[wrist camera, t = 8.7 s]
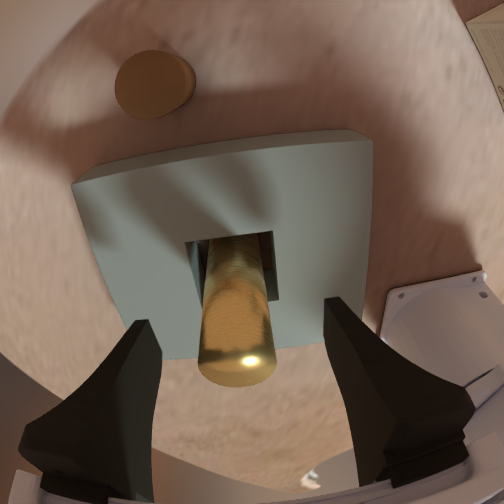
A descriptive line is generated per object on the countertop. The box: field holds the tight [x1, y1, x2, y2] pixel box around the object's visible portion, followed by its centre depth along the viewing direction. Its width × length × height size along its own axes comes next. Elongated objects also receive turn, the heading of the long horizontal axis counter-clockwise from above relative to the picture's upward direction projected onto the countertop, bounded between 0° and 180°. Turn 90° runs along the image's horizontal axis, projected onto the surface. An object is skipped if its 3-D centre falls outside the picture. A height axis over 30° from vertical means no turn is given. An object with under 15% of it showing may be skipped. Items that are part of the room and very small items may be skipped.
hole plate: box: [71, 129, 373, 360], centre depth 18 cm, size 14×12×3 cm
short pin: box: [115, 50, 196, 120], centre depth 12 cm, size 3×3×4 cm
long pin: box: [198, 233, 277, 387], centre depth 15 cm, size 3×3×9 cm
